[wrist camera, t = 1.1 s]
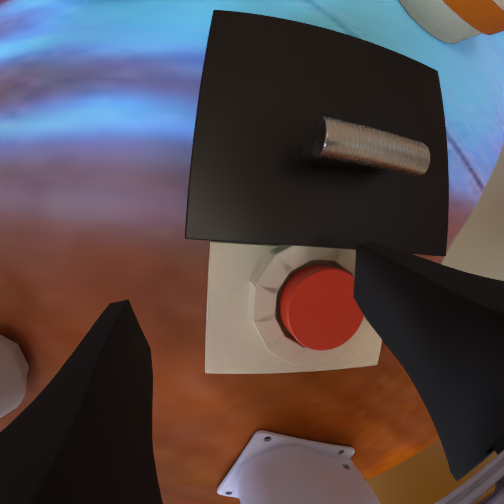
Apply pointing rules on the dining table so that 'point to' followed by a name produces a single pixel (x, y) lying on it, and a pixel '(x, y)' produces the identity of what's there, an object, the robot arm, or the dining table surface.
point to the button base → (270, 312)
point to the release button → (320, 307)
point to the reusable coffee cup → (457, 17)
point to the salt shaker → (11, 375)
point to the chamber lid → (316, 141)
